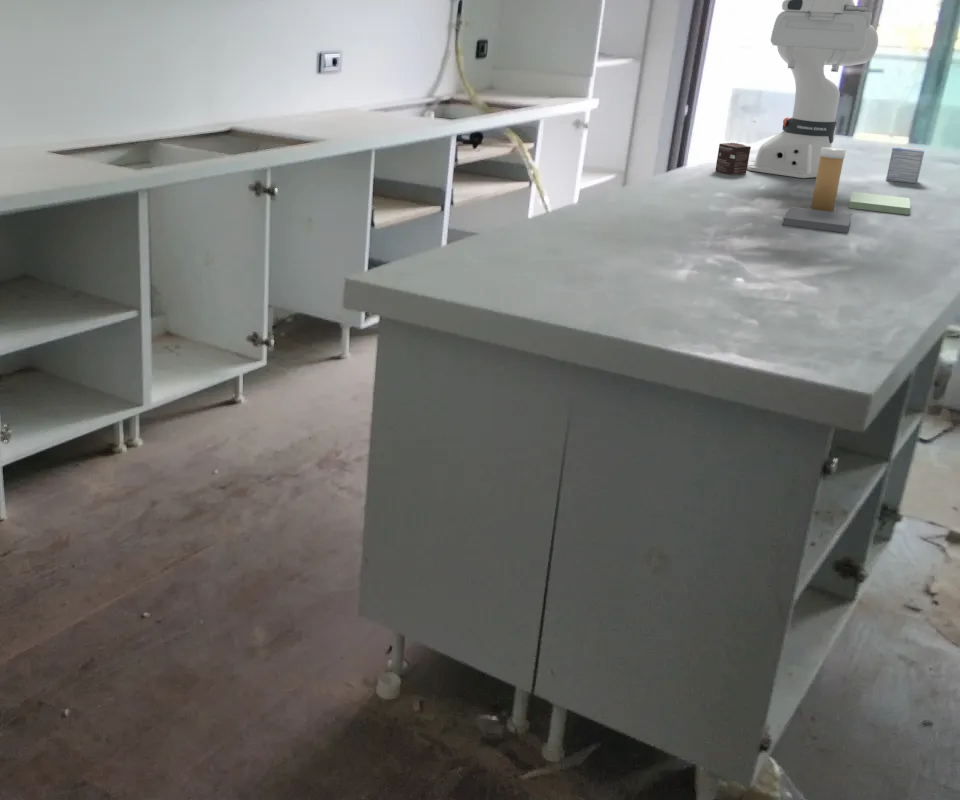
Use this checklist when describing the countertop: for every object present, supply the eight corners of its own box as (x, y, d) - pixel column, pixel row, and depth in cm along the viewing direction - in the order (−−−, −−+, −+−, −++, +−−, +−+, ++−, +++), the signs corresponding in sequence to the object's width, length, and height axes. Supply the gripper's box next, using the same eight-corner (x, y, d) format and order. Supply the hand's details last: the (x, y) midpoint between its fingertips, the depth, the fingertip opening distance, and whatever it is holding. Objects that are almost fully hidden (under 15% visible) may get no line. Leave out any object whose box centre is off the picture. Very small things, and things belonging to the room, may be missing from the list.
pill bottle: (809, 209, 220) (820, 149, 214) (811, 205, 224) (822, 146, 219) (833, 212, 218) (845, 152, 213) (834, 208, 222) (846, 148, 217)
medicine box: (917, 181, 261) (925, 148, 258) (917, 184, 258) (924, 151, 254) (886, 178, 264) (893, 145, 261) (885, 180, 261) (892, 147, 257)
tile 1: (782, 224, 204) (783, 217, 203) (788, 213, 215) (789, 206, 214) (847, 233, 200) (848, 225, 199) (850, 220, 211) (851, 214, 210)
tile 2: (848, 207, 224) (849, 201, 223) (851, 197, 235) (852, 191, 234) (908, 214, 220) (910, 208, 219) (908, 204, 231) (909, 198, 230)
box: (714, 171, 261) (718, 143, 258) (729, 169, 264) (733, 142, 261) (732, 175, 256) (736, 147, 254) (747, 173, 260) (751, 145, 257)
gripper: (874, 6, 213) (861, 72, 218) (778, 1, 219) (768, 65, 225) (873, 6, 207) (860, 74, 213) (775, 1, 214) (765, 67, 219)
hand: (812, 69), depth 219 cm, fingers open, 8 cm apart
